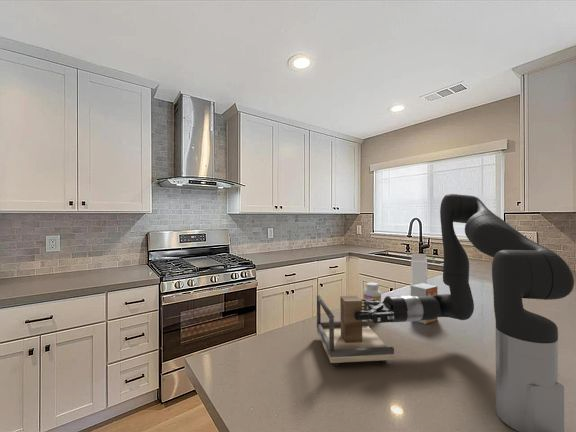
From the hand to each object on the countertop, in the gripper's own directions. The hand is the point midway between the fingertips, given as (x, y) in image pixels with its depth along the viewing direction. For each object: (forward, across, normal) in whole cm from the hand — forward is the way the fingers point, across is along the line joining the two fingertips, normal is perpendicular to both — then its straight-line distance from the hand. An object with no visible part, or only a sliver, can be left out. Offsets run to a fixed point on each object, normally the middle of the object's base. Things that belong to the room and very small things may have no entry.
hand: (350, 310), depth 83 cm
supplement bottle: (-17, -27, +12) cm, 34 cm away
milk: (-45, -42, +12) cm, 63 cm away
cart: (0, 0, +12) cm, 12 cm away
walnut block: (0, 0, +8) cm, 9 cm away
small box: (-35, -21, +12) cm, 43 cm away
